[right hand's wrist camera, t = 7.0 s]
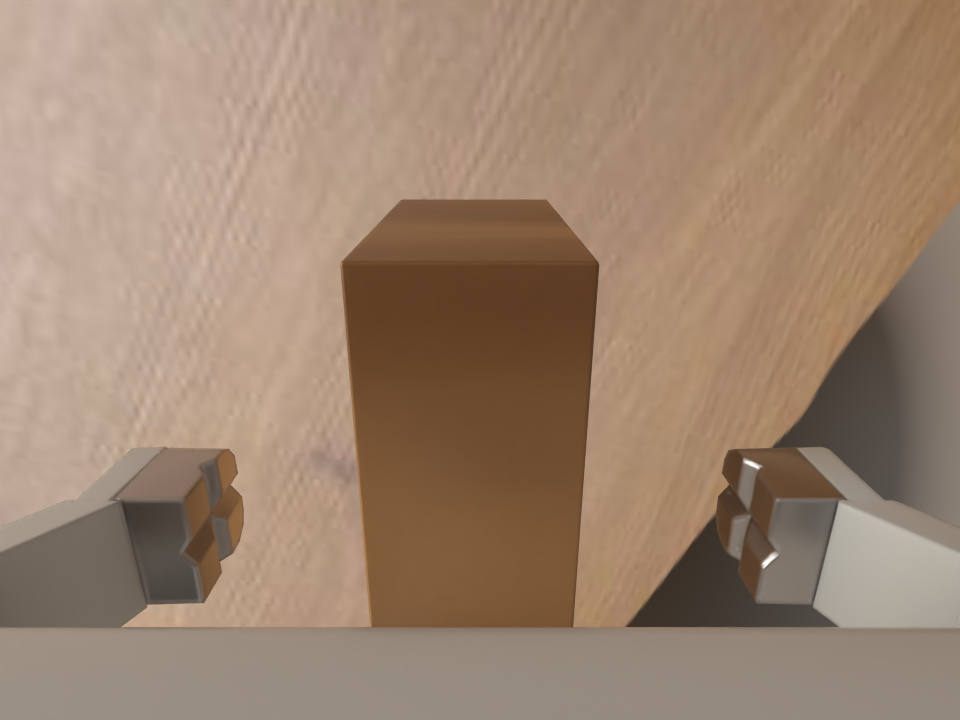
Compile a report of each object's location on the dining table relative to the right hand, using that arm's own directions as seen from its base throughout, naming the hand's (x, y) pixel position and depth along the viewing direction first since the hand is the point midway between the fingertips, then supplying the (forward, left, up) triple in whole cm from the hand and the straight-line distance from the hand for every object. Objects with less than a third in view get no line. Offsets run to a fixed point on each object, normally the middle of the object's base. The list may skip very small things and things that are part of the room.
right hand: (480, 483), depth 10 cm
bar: (+8, 0, -10) cm, 13 cm away
